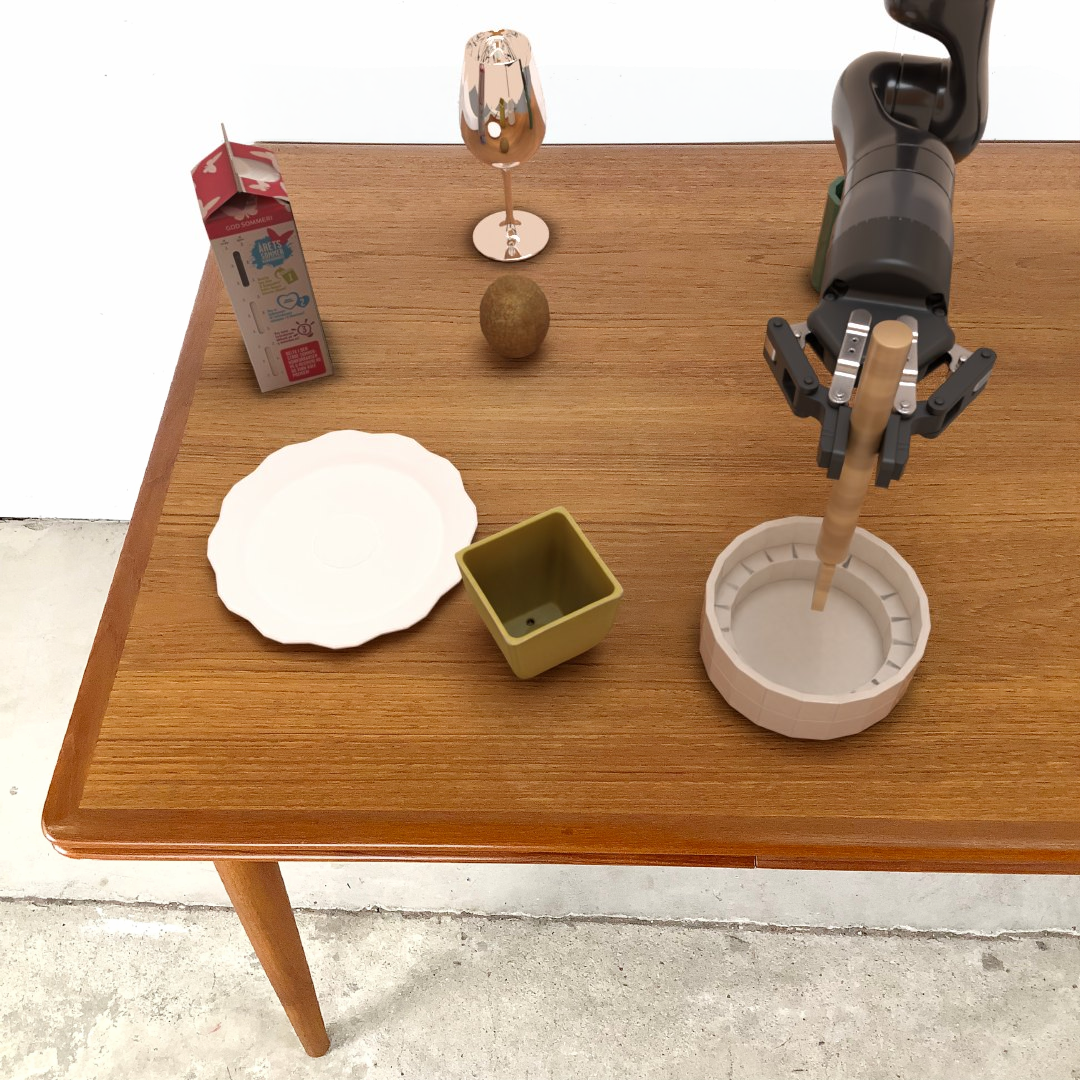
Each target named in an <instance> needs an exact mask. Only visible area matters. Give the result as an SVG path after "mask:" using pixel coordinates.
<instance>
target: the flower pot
mask: <svg viewBox="0 0 1080 1080" xmlns="http://www.w3.org/2000/svg"><path fill="white" fill-rule="evenodd" d="M455 559H456V562H457V565H458V567H459V570H460V573H461V576H462V579H461V580H462V581H463V585H464V587H465V591H466V593H467V596H468V598H469V600H470V602H471V603H472V606H473V607H474V609H475V610H476V612H477V614H478V615H479V617H480V618H481V620H482V621H483V623H484V625H485V626H486V628H487V629H488V631H489V632H490V635H491V636H492V637H493V639H494V641H495V643H496V644H497V646H498V648H499V649H500V651H501V653H502V654H503V656H504V658H505V659H506V662H507V663H508V665H509V667H510V668H511V670H512V672H513V673H514V674H515V676H516V677H517V678H519V679H523V680H527V679H532V678H534V677H536V676H538V675H540V674H542V673H545V672H546V671H548V670H550V669H552V668H554V667H557V666H558V665H560V664H562V663H565V662H567V661H569V660H571V659H573V658H575V657H578V656H579V655H581V654H584V653H585V652H587V651H589V650H591V649H592V648H594V647H596V646H598V644H600V643H601V642H602V641H603V640H605V638H606V637H607V636H608V635H609V633H610V632H611V630H612V628H613V626H614V623H615V620H616V617H617V614H618V611H619V607H620V604H621V601H622V598H623V595H624V588H623V586H622V585H621V583H620V582H619V581H618V580H617V578H616V577H615V575H614V574H613V572H611V570H610V568H609V567H608V566H607V564H606V563H605V562H604V560H603V559H602V558H601V556H600V555H599V553H598V552H597V551H596V548H594V546H593V544H592V543H591V541H590V540H589V539H588V537H587V536H586V535H585V533H584V532H583V531H582V529H581V527H580V526H579V525H578V523H577V522H576V521H575V519H574V518H573V516H572V514H570V512H569V511H568V510H567V509H566V508H565V507H564V506H563V505H560V506H556V507H553V508H550V509H548V510H546V511H543V512H541V513H538V514H536V515H534V516H532V517H530V518H528V519H525V520H523V521H521V522H519V523H516V524H513V525H512V526H510V527H507V528H506V529H503V530H501V531H498V532H497V533H494V534H492V535H489V536H487V537H485V538H482V539H480V540H478V541H475V542H473V543H471V544H470V545H469V546H467V547H465V548H463V549H461V550H460V551H458V552H456V553H455ZM528 621H533V624H532V625H529V623H528Z"/></svg>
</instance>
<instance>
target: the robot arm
mask: <svg viewBox="0 0 1080 1080" xmlns="http://www.w3.org/2000/svg"><path fill="white" fill-rule="evenodd" d="M995 3H996V0H883V6H884V9H885V12H886V13H887V15H888V16H889V17H890V18H891V19H892V20H893V21H895V22H896V23H898V24H900V25H901V26H903V27H905V28H908V29H910V30H913V31H915V32H918V33H921V34H923V35H925V36H927V37H930V38H932V39H934V40H936V41H938V42H939V43H940V44H941V45H943V46H944V48H945V49H946V51H947V53H948V55H949V57H946V58H945V57H936V56H928V55H927V56H926V55H920V54H919V55H918V54H910V53H903V54H902V53H901V52H895V51H893V52H892V51H885V50H874V51H869V52H866V53H864V54H862V55H860V56H858V57H856V58H854V60H852V61H851V62H850V63H849V64H848V65H847V66H846V67H845V69H844V70H843V71H842V73H840V76H839V77H838V80H837V82H836V85H835V88H834V91H833V94H832V100H831V111H830V112H831V114H830V115H831V128H832V135H833V140H834V143H835V147H836V151H837V154H838V157H839V160H840V163H841V166H842V170H843V175H845V181H844V187H843V192H842V198H841V204H840V210H839V213H838V215H837V218H836V220H835V223H834V225H833V229H832V233H831V237H830V242H829V248H828V250H827V253H826V265H825V270H824V276H823V281H822V287H821V292H820V293H819V299H818V304H817V306H816V307H815V308H814V309H812V310H811V312H809V314H808V316H807V318H806V321H802V322H797V323H792V324H789V321H787V319H786V318H784V317H781V316H774V317H771V318H769V320H767V323H766V331H765V337H764V342H763V349H762V356H763V358H764V359H765V362H766V364H767V365H768V367H769V370H770V371H771V373H772V375H773V378H774V379H775V381H776V383H777V385H778V387H779V389H780V392H781V393H782V395H783V396H784V399H785V401H786V403H787V405H788V407H789V408H790V410H791V412H792V414H793V415H794V416H795V417H797V418H799V419H807V418H810V417H811V418H814V419H815V420H817V422H819V423H820V433H819V440H818V447H817V451H816V452H817V454H816V458H815V461H816V464H817V467H818V468H820V469H825V470H826V477H825V478H826V479H829V480H839V479H840V475H841V471H842V468H843V464H844V460H845V454H846V448H847V441H848V434H849V427H850V415H851V411H852V407H853V406H850V403H851V400H852V395H853V392H854V389H857V388H858V385H859V381H860V377H861V373H862V369H863V366H864V362H865V358H866V354H867V350H868V346H869V343H870V339H871V335H872V331H873V329H874V327H875V326H876V325H877V324H878V323H880V322H882V321H887V320H895V321H899V322H902V323H904V324H906V325H907V326H909V327H910V329H911V330H912V332H913V336H914V338H913V342H912V345H911V348H910V351H909V355H908V358H907V361H906V365H905V368H904V371H903V374H902V378H901V381H900V384H899V388H898V391H897V394H896V397H895V401H894V404H893V407H892V411H891V414H890V417H889V420H888V424H887V426H886V429H885V432H884V436H883V439H882V442H881V446H880V449H879V452H878V456H877V460H876V468H875V475H874V476H875V477H874V485H873V486H874V487H876V488H881V489H889V486H890V483H891V481H897V482H899V481H900V480H901V478H902V477H903V475H904V473H905V470H906V467H907V465H908V461H909V457H910V448H911V438H912V436H916V435H920V436H921V437H922V438H924V439H926V440H934V439H937V438H938V437H939V436H940V435H941V434H942V433H943V432H944V431H946V429H947V428H948V427H949V426H950V425H951V424H952V423H953V422H954V421H955V420H956V419H957V418H958V417H959V416H960V415H961V414H962V413H963V412H964V411H965V409H966V408H967V407H968V406H970V405H971V403H972V402H973V401H975V400H976V398H977V397H978V396H979V395H980V394H981V393H982V392H983V391H984V390H985V388H986V386H987V383H988V381H989V379H990V376H991V373H992V372H993V369H994V367H995V363H996V361H997V358H998V354H997V352H996V351H995V350H993V348H989V347H980V348H977V349H976V350H975V351H974V352H973V351H971V350H969V349H967V348H966V347H964V346H962V345H960V344H958V343H956V333H955V331H954V329H952V326H951V325H950V323H949V319H948V318H949V305H950V293H951V283H952V270H953V261H954V249H955V248H954V247H955V228H954V227H955V226H954V220H953V213H954V212H953V211H954V199H955V188H956V165H958V164H960V163H962V162H963V161H964V160H966V159H967V158H968V157H969V156H970V155H971V154H972V153H973V152H974V151H975V150H976V148H977V147H978V146H979V145H980V143H981V140H982V139H983V137H984V134H985V131H986V128H987V124H988V118H989V104H990V102H989V100H990V91H989V90H990V88H989V84H990V82H989V80H990V79H989V77H990V76H989V55H990V54H989V53H990V37H991V26H992V20H993V14H994V8H995ZM807 345H808V346H809V348H810V349H811V350H812V351H813V354H815V355H816V357H817V358H818V359H819V361H820V362H821V363H822V364H823V366H824V367H825V369H826V370H827V372H828V373H829V374H830V376H832V379H831V384H830V387H827V386H826V385H823V384H822V383H821V384H820V379H819V377H818V375H817V373H816V371H815V370H814V368H813V366H812V364H811V362H810V361H809V359H808V356H807V355H806V353H805V350H806V346H807ZM943 365H945V366H946V367H947V371H946V375H945V381H943V382H942V383H941V385H940V386H939V387H937V389H936V390H935V391H934V392H932V394H931V395H929V397H928V398H927V399H926V400H917V384H918V383H920V382H921V381H922V380H924V379H925V378H927V377H928V376H930V374H932V373H934V372H935V371H936V370H937V369H939V368H940V367H942V366H943Z"/></svg>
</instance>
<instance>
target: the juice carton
mask: <svg viewBox="0 0 1080 1080" xmlns="http://www.w3.org/2000/svg"><path fill="white" fill-rule="evenodd" d="M220 124H221V125H220V126H221V131H222V135H223V141H224V142H222V144H220V145H218V147H216V148H215V149H214V150H213V151H211V152H210V153H209V154H208V155H206V156H205V157H204V158H203V159H201V160H200V161H199V162H197V163H196V165H195V166H193V167H192V169H191V170H190V175H191V179H192V183H193V187H194V191H195V196H196V200H197V203H198V207H199V211H200V215H201V219H202V223H203V226H204V228H205V232H206V235H207V238H208V241H209V244H210V246H211V250H212V253H213V255H214V258H215V261H216V264H217V266H218V269H219V272H220V276H221V278H222V282H223V284H224V288H225V290H226V293H227V296H228V300H229V302H230V305H231V307H232V310H233V313H234V316H235V320H236V322H237V325H238V328H239V331H240V334H241V337H242V340H243V342H244V345H245V348H246V351H247V354H248V357H249V360H250V363H251V367H252V369H253V372H254V374H255V377H256V380H257V383H258V386H259V389H260V392H261V393H267V392H270V391H274V390H279V389H281V388H282V389H283V388H285V387H289V386H293V385H297V384H302V383H305V382H309V381H312V380H315V379H320V378H324V377H328V376H331V375H335V374H336V373H335V368H334V365H333V362H332V361H333V360H332V358H331V354H330V350H329V347H328V342H327V339H326V335H325V331H324V327H323V324H322V320H321V316H320V312H319V308H318V304H317V300H316V296H315V293H314V290H313V285H312V282H311V277H310V274H309V270H308V265H307V263H306V258H305V255H304V251H303V247H302V243H301V240H300V236H299V232H298V228H297V224H296V221H295V215H294V213H293V208H292V205H291V202H290V201H291V200H290V197H289V195H288V192H287V189H286V185H285V183H284V180H283V176H282V174H281V170H280V167H279V165H278V161H277V159H276V158H277V157H276V155H275V152H274V151H273V150H269V149H267V148H265V147H264V148H263V147H259V146H254V145H249V144H244V143H240V142H234V141H229V138H228V135H227V131H226V128H225V124H224V122H221V123H220Z"/></svg>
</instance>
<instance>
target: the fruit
mask: <svg viewBox="0 0 1080 1080" xmlns="http://www.w3.org/2000/svg"><path fill="white" fill-rule="evenodd" d="M550 322H551V315H550V306H549V301H548V299H547V296H546V294H545V293H544V292H543V290H542V289H541V287H540V286H539V284H537V282H535V281H534V280H532V279H531V278H529V277H528V276H525V275H521V274H517V273H514V274H505V275H503V276H500V277H498V278H497V279H495V280H494V281H493V282H492V283H490V285H488V287H487V288H486V290H485V292H484V294H483V296H482V298H481V300H480V304H479V325H480V330H481V333H482V334H483V337H484V338H485V340H486V341H487V343H488V345H489V346H490V347H491V348H492V349H493V350H494V351H495V352H497V353H498V354H500V355H501V356H502V357H507V358H512V359H514V358H516V359H517V358H524V357H527V356H529V355H532V354H533V353H534V352H535V351H537V350H538V349H539V348H540V347H541V345H542V344H543V343H544V341H545V339H546V336H547V335H548V332H549V328H550V325H551V324H550Z"/></svg>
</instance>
